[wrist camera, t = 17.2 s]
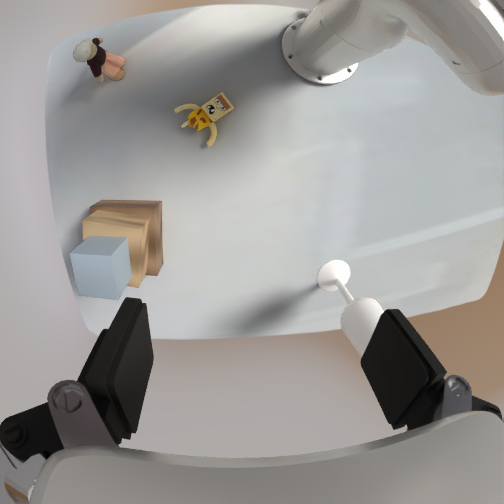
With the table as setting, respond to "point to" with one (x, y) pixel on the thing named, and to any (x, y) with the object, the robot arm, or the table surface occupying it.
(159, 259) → the tower bottom
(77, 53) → the grandmother figurine
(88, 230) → the tower top
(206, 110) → the character toy
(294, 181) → the table surface
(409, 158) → the table surface
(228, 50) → the table surface
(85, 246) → the blue cube
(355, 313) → the champagne flute
